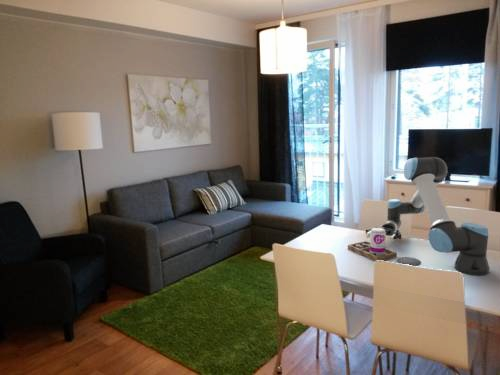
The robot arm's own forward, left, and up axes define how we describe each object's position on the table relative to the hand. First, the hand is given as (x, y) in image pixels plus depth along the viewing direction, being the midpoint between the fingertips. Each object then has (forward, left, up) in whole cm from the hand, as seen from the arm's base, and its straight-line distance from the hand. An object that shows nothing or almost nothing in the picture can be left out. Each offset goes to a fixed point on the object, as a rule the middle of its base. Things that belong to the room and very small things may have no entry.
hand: (379, 237), depth 221 cm
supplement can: (-3, +4, -9) cm, 10 cm away
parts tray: (+2, +4, -9) cm, 10 cm away
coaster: (-18, -3, -9) cm, 20 cm away
